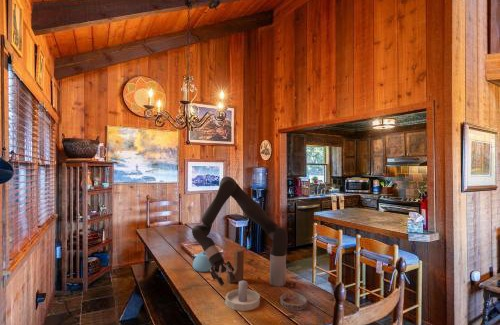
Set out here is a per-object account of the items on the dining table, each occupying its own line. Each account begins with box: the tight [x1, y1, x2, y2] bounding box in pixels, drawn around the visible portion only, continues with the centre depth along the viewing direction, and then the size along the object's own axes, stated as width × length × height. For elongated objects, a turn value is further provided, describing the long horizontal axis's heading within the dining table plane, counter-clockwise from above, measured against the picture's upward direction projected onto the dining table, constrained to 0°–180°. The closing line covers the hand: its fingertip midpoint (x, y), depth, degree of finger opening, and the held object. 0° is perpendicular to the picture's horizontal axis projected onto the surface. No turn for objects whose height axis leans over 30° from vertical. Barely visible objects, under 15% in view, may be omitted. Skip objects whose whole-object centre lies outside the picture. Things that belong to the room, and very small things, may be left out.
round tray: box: [224, 288, 261, 312], centre depth 145 cm, size 17×17×3 cm
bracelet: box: [279, 292, 308, 311], centre depth 144 cm, size 14×14×3 cm
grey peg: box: [238, 279, 248, 302], centre depth 145 cm, size 4×4×9 cm
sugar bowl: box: [192, 250, 212, 273], centre depth 190 cm, size 15×15×12 cm
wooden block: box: [226, 248, 245, 284], centre depth 171 cm, size 9×4×18 cm, turn 119°
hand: (228, 282), depth 151 cm, fingers open, 8 cm apart
